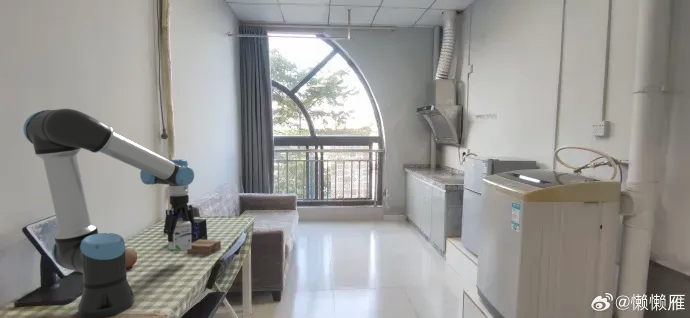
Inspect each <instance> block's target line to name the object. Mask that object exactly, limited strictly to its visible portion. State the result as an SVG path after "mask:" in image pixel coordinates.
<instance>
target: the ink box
mask: <svg viewBox="0 0 690 318" xmlns="http://www.w3.org/2000/svg"><path fill="white" fill-rule="evenodd" d="M173 234H175V249H169V248H168V250H169V251H170V252H172V253H174V252H179V251H185V250H186V251H187V249H192V247H191V222H190V221H181V222H177V224H176V227H175V230H174V233H173Z"/></svg>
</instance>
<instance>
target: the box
mask: <svg viewBox="0 0 690 318" xmlns="http://www.w3.org/2000/svg"><path fill="white" fill-rule="evenodd" d="M181 221H183V219H182V218H179V219H178V221H177V222H181ZM194 222H195V225H194V227H193V228H191V231H192V234H191V243H192V242H195V241H197V240H199V239H202V240H208V227H207V219H206V218H205V219H203V218H194ZM191 223H192V222H191Z"/></svg>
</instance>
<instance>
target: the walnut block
mask: <svg viewBox="0 0 690 318" xmlns="http://www.w3.org/2000/svg"><path fill="white" fill-rule="evenodd" d="M221 245H222V243H221V240H212V239H207V240H202V239H199V240H197V241H195V242H192V243H191V247H192V249H187V250H186V252H187V254H192V253H194V254H195V255H205V256H210V255H212V254H214V253H216V252H218V251H220V250H221V249H222V246H221Z"/></svg>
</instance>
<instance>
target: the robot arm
mask: <svg viewBox="0 0 690 318" xmlns="http://www.w3.org/2000/svg"><path fill="white" fill-rule="evenodd" d="M23 135H24V137H25V138H26V139H27V141H28V142H30V143H31V144H32V145H33V150H34V154H35V156H37V157H39V158H40V159H42V160H43V161H42V162H43V165H44V169H45V173H46V178H47V182H48V186H49V191H50V195H51V199H52V200H51V201H52V204H53V209H54V214H55V217H56V222H57V226H58V230H57V232H56V233H55V235H54V241H55V243H54V244H53V246H52V249H51V256H52V259H53V260H54V262H55V263H56V264H57V265H59V266H61V267H62V268H64V269H65V270H66V269H67V270H70V271H75V272H79V273H81V274H82V281H83V291H82V293H81V296H80V297H81V298H80V302H79V304H78V307H77V309H78V310H77V312H78V316H79V317H80V318H106V317H110V316H113V315H116V314H120V313H121V312H124V311H126V310H127V309H129V308H130V307H131V306H133V305H134V303H135V295H134V292H133V290H132V288H131V285H130V284H129V282H128V278H127V276H128V275H127V268H126V258H125V249H126V243H125V239H124V237H123V236H122V235H120V234H118V233H113V232H109V233H107V232H102V233H101V232H100V233H99V231H98V225H95V223H92V222H91V219H90V214H89V210H88V209H89V208H88V204H87V200H86V199H87V198H86V196H85V190H84V185H83V179H82V175H81V170H80V166H79V162H78V156H77V155H78V154H79V152H80V151H81V150H82V149H83V150H87V151H90V152H91V153H94V154H95V153H101V154H104V155H106V156H108V157H111V158H113V159H115V160H118V161H121V162H122V163H124V164H127V165H129V166H131V167H134V168H136V169H138V170H140V172H139V174H140V180H141V183H143V184H145V185H148V186H149V185H157V184H159V185H169V186H168V187H169V188H168V189H169V193H168V194H169V195H170V196H169V204H170V206H171V208H170V209H165V220H164V226H163V234H164V235H165V234H166V235H167V242H168V250H169V249H175V234H173V233H174V230H175V227H176V224H177V221H178V219H179V217H180V216H181V217H182V219H183V221H190V222H192V223H191V228H193V227H194V225H195V222H194V219H195V217H194V212H193V205H192V204H188V203H189V202H190V198H189V197H190V196H189V195H188V194H189V185H191V184H192V183H193V181H194V180H195V172H194V170H193V169H192V167H190V166H189V163H188V161H187V159H178V158H177V159H170V160H169V159H168V158H166V157H164V156H162V155H159V154H158V153H157V152H154V151H152V150H150V149H148V148H146V147H144V146H142V145H140V144H138V143H136V142H135V141H132V140H130V139H128V138H126V137H125V136H123V135H120V134H118V133H116V132H114V131H113V128H112V127H111V126H109V125H108V124H106V123H104V122H102V121H100V120H98V119H97V118H95V117H92V116H90V115H89V114H86V113H84V112H82V111H79V110H76V109H71V108H59V109H43V110H40V111H38V112H37V111H36V112H34V113H33V114H31V115H30V116H29V117H28V118H27V119H26V120H25V122H24V124H23ZM191 234H192V231H191Z"/></svg>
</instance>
